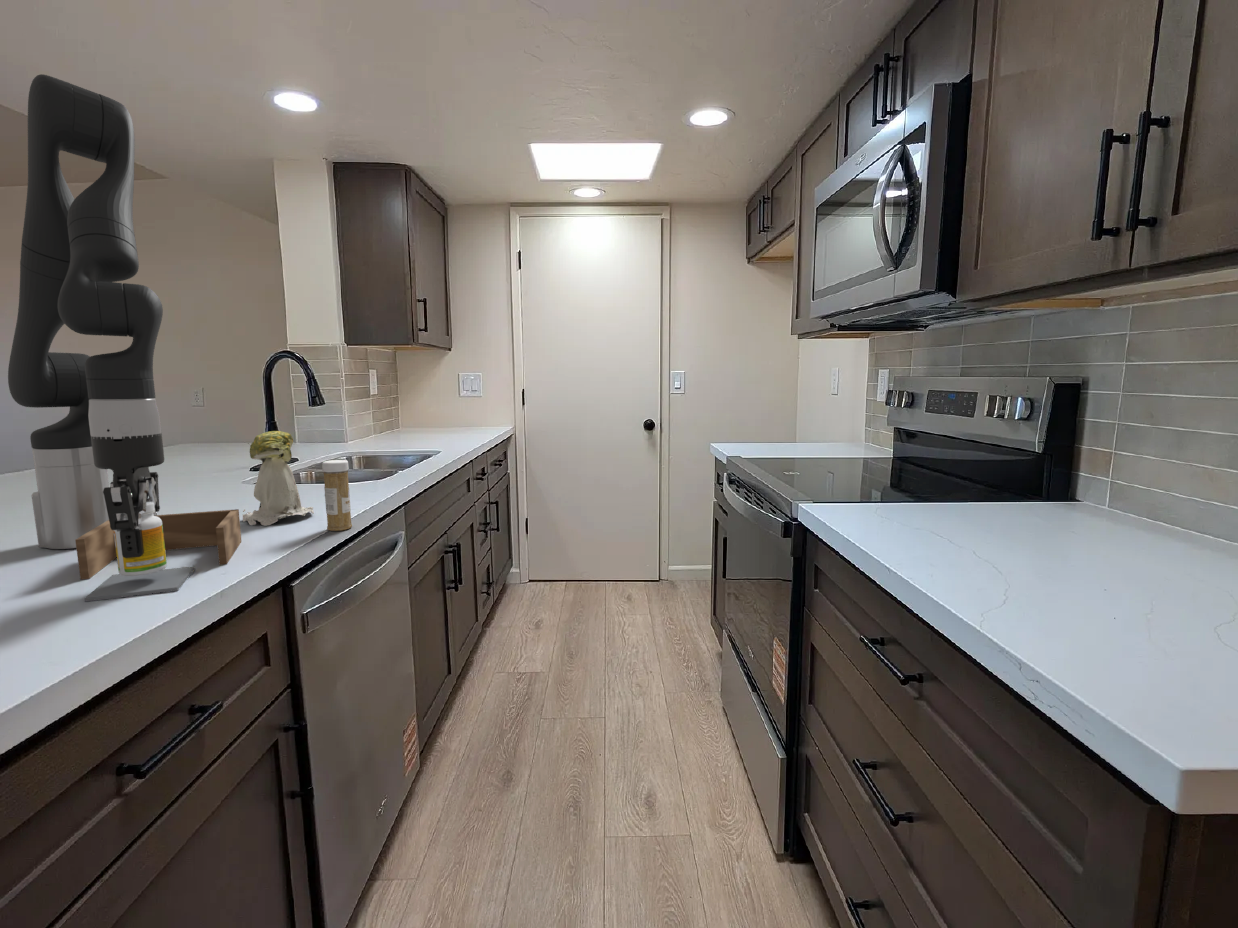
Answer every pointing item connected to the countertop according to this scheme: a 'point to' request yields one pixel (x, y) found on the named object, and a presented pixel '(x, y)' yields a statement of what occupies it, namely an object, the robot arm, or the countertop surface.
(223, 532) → the open box
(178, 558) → the countertop surface
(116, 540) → the supplement bottle
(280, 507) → the yellow capped ghost figurine
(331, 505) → the sprinkles bottle
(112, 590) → the grey mat
